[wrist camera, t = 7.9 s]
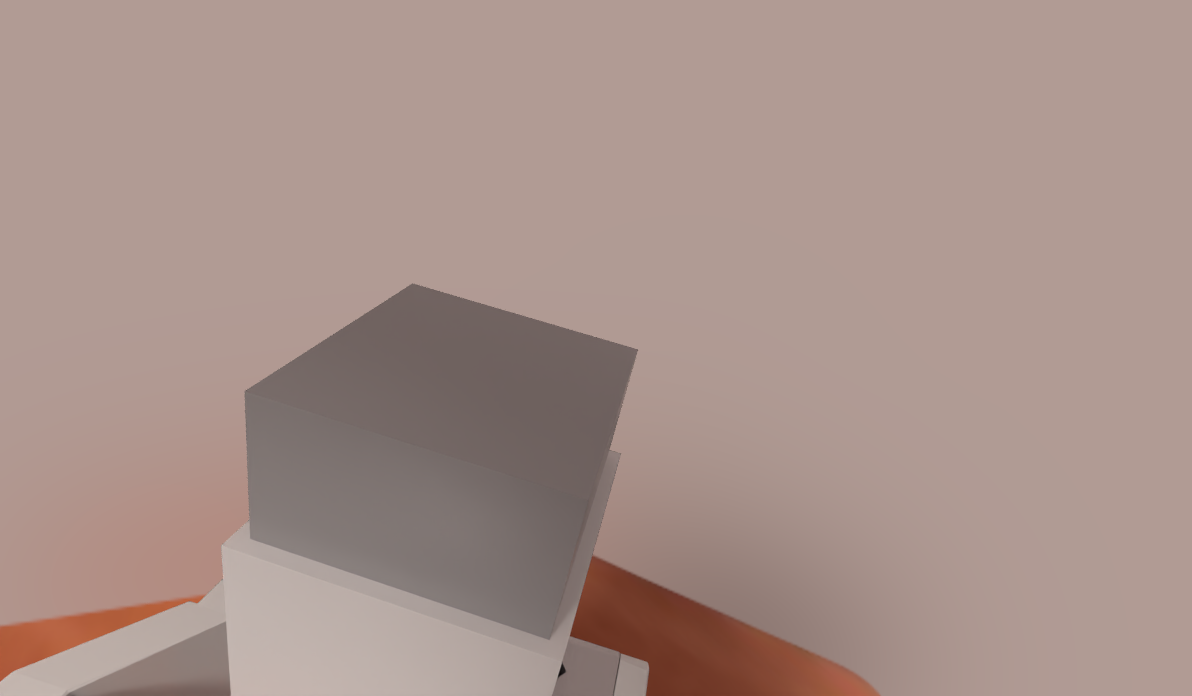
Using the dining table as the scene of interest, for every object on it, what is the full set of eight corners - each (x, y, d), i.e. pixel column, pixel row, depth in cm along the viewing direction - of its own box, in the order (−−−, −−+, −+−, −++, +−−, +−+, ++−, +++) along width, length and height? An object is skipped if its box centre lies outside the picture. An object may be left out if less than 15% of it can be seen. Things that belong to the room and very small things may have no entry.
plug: (248, 968, 11) (211, 394, 6) (378, 726, 16) (429, 262, 10) (445, 1048, 11) (604, 519, 6) (523, 778, 15) (657, 329, 10)
